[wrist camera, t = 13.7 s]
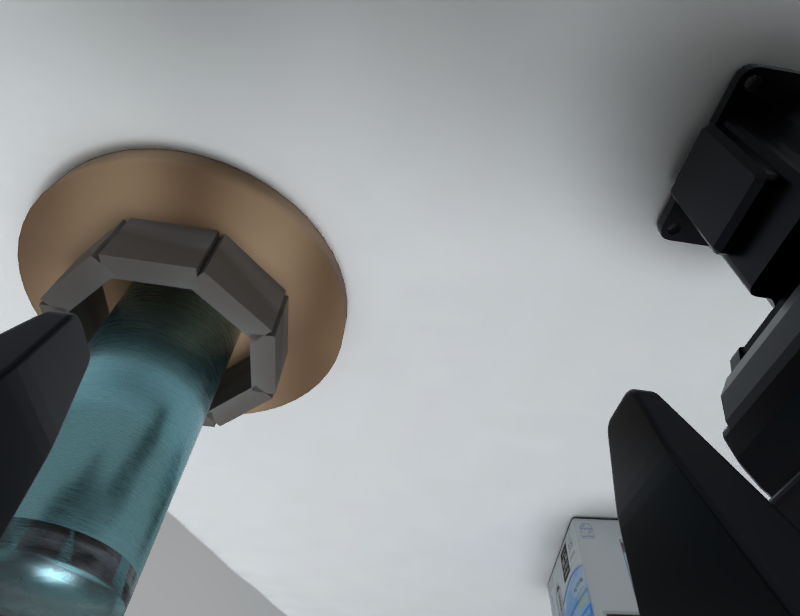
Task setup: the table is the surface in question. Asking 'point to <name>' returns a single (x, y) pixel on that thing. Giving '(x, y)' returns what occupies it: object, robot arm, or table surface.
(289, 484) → the table surface
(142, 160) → the socket dock
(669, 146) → the table surface
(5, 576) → the ball
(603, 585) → the light bulb box
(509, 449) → the table surface
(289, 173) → the table surface
